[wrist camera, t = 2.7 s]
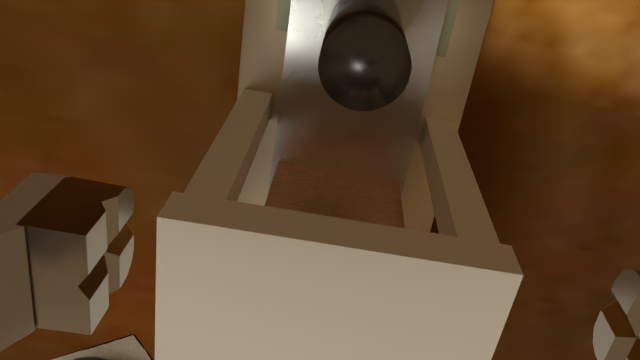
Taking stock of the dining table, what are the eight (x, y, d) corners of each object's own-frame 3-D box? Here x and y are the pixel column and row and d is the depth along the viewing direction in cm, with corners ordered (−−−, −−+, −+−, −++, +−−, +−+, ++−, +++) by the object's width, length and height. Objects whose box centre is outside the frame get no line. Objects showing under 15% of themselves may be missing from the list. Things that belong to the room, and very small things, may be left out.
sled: (249, 366, 36) (225, 467, 30) (297, -35, 25) (275, -9, 19) (353, 383, 36) (351, 486, 30) (447, -11, 25) (475, 24, 19)
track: (213, 432, 42) (207, 452, 40) (275, -291, 23) (269, -303, 21) (362, 456, 42) (362, 476, 41) (552, -245, 23) (565, -254, 21)
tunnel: (222, 281, 34) (152, 476, 23) (238, 85, 28) (157, 216, 17) (408, 310, 34) (429, 519, 23) (460, 121, 28) (523, 275, 17)
